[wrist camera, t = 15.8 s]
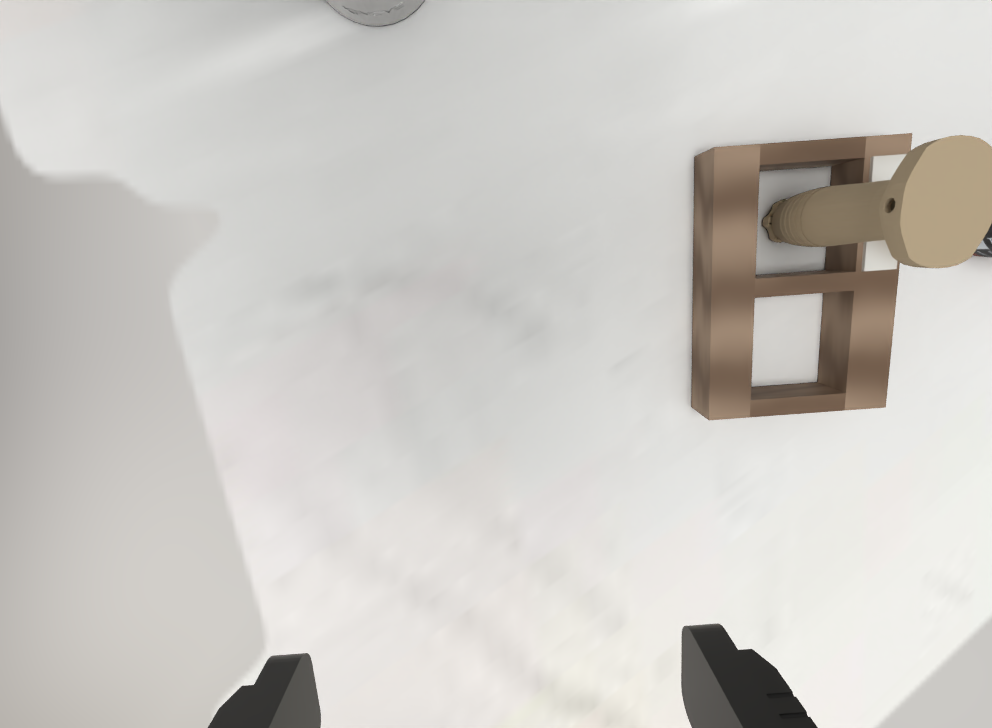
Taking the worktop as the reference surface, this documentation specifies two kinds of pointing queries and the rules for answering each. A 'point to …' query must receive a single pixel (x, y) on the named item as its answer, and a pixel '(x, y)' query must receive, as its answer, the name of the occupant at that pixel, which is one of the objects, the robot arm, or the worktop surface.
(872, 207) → the handle
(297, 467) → the worktop surface
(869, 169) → the brown wooden frame
